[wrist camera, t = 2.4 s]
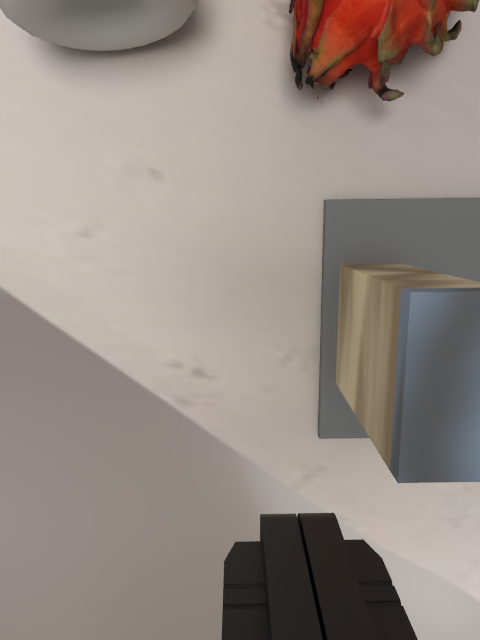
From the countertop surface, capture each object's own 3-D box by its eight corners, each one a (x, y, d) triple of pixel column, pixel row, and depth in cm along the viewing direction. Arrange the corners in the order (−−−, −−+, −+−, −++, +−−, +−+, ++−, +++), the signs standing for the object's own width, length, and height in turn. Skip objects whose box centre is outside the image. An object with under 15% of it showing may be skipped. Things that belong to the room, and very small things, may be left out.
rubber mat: (591, 197, 29) (599, 196, 28) (557, 431, 32) (564, 435, 32) (324, 200, 29) (325, 199, 28) (317, 434, 32) (319, 438, 31)
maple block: (402, 263, 29) (515, 291, 17) (395, 382, 31) (493, 481, 19) (339, 264, 29) (410, 292, 17) (335, 383, 31) (397, 482, 19)
